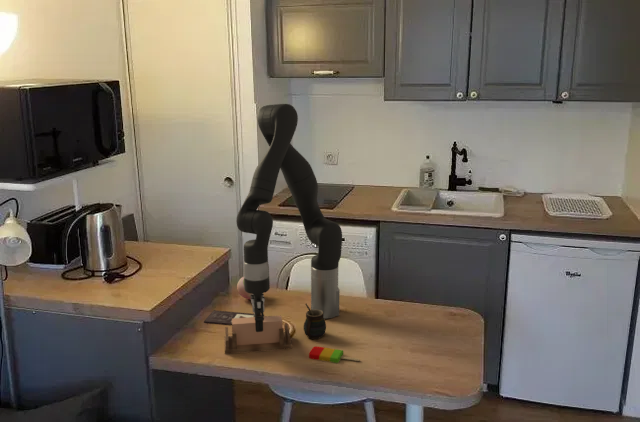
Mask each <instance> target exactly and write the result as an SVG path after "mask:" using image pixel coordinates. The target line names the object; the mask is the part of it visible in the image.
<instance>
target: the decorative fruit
mask: <svg viewBox="0 0 640 422" xmlns="http://www.w3.org/2000/svg"><path fill="white" fill-rule="evenodd" d="M236 288H237V292H238V293H239V295H240V296H241V297H242V298H244V299H245V300H251V296H250V295H251V294H250V293H247V292H246V291H245V289H244V276H242V277H241V278H239V280H238V282H237V285H236Z"/></svg>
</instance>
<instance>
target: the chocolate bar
mask: <svg viewBox="0 0 640 422" xmlns="http://www.w3.org/2000/svg"><path fill="white" fill-rule="evenodd" d="M249 317H254V313H250V312H238V311H226V310H215V309H214V310H212V311H211V312H210V314H209V315H208V316H207V317H206V318H205V319H204V321H203V323H205V324H212V325H213V324H214V325H223V326H232V319H234V318H249Z"/></svg>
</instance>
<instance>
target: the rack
mask: <svg viewBox="0 0 640 422" xmlns="http://www.w3.org/2000/svg"><path fill="white" fill-rule="evenodd" d="M224 330H225V336H224V354H225V355H227V354H239V353H252V352H267V351H269V352H270V351H280V350H282V351H283V350H292V348H293V344H292V341H291V340H292V339H291V333H290V329H289V326H288V323H287V322H286V323H284V328H283V327H282V329H279V342H277V343H263V344H249V345H237V337H236V332H232V331H231V335H229V327H228V326H226V327H225V328H224Z"/></svg>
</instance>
